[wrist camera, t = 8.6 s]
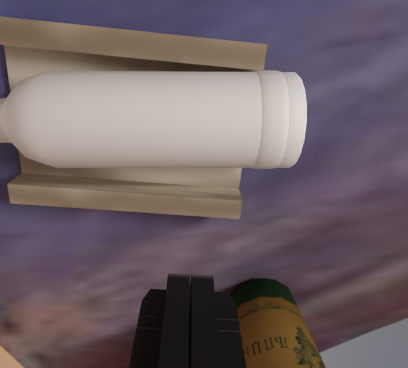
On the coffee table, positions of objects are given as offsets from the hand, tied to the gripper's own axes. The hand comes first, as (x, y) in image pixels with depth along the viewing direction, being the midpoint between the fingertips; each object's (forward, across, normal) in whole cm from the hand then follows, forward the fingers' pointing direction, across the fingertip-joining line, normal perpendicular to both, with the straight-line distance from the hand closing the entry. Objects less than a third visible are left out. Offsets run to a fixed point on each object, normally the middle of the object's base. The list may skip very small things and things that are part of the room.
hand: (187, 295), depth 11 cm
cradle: (+23, +6, 0) cm, 24 cm away
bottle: (+18, -8, -2) cm, 20 cm away
